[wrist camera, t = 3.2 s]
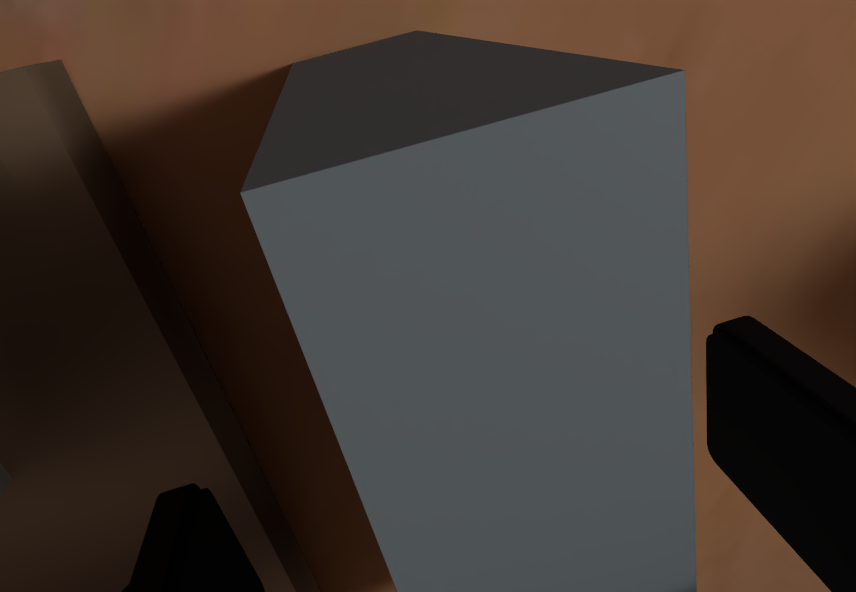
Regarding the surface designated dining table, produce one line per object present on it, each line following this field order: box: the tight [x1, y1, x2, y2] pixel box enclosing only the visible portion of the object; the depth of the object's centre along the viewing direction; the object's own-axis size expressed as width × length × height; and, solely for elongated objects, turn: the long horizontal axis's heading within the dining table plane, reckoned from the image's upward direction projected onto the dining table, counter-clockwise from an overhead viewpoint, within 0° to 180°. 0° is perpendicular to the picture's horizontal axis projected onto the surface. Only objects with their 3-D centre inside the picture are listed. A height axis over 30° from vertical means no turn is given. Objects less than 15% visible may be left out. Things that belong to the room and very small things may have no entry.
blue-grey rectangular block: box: [240, 31, 696, 592], centre depth 10 cm, size 14×3×9 cm, turn 13°
